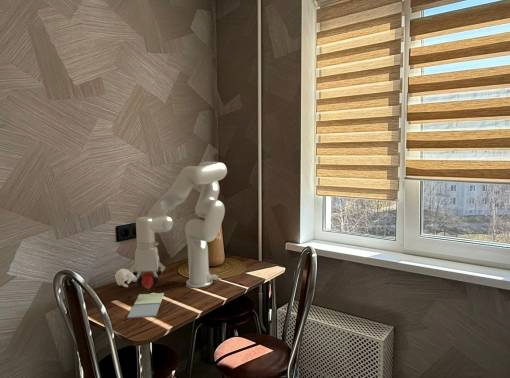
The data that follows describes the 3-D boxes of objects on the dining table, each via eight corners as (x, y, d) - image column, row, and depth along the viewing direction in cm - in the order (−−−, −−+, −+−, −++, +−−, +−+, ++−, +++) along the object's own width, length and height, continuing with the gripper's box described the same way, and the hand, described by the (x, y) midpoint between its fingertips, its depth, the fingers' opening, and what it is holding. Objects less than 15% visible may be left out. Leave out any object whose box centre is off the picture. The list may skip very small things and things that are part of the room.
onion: (138, 290, 171) (137, 272, 170) (146, 285, 176) (145, 268, 175) (149, 291, 169) (148, 273, 168) (157, 287, 174) (156, 269, 173)
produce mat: (163, 294, 179) (163, 292, 179) (160, 303, 168) (160, 302, 168) (139, 295, 178) (139, 294, 178) (134, 305, 167) (134, 304, 167)
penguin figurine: (113, 269, 189) (132, 264, 200) (113, 286, 190) (132, 281, 200) (122, 271, 186) (141, 266, 197) (122, 289, 186) (141, 283, 197)
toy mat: (159, 305, 167) (159, 303, 167) (155, 316, 156) (155, 315, 156) (133, 306, 166) (133, 305, 166) (127, 318, 155) (127, 316, 155)
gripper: (167, 242, 175) (169, 281, 177) (127, 244, 173) (129, 283, 175) (165, 246, 167) (166, 287, 169) (123, 248, 166) (125, 289, 168)
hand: (148, 285), depth 172 cm, fingers closed on onion, 5 cm apart
